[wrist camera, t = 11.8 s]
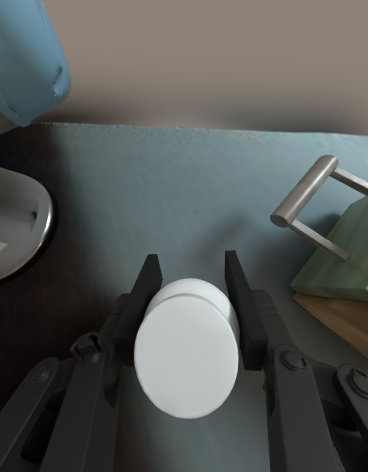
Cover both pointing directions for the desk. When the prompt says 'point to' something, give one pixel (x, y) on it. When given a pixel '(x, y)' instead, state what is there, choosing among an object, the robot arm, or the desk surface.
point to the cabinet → (340, 318)
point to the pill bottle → (188, 349)
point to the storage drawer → (330, 237)
